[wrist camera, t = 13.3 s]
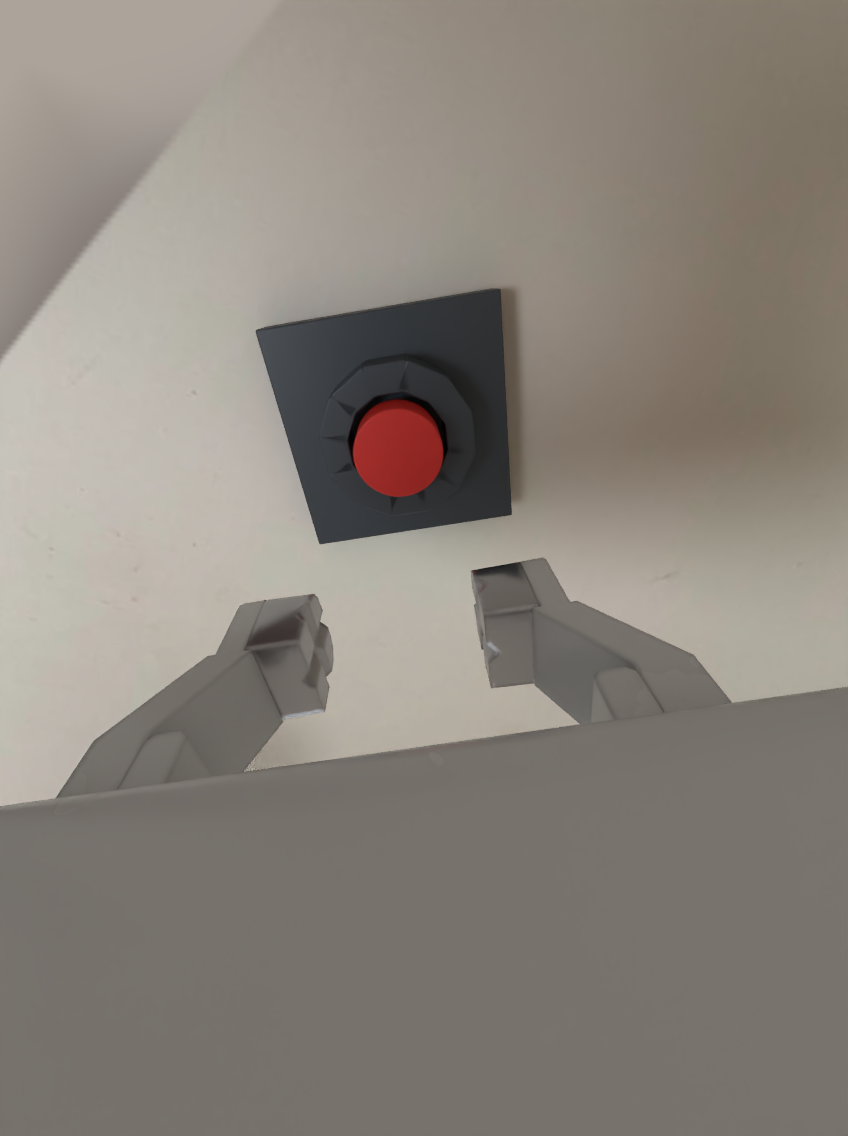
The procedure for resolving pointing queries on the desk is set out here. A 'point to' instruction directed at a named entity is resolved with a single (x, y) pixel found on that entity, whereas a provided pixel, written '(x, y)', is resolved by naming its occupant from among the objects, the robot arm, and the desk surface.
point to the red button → (398, 448)
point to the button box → (386, 372)
